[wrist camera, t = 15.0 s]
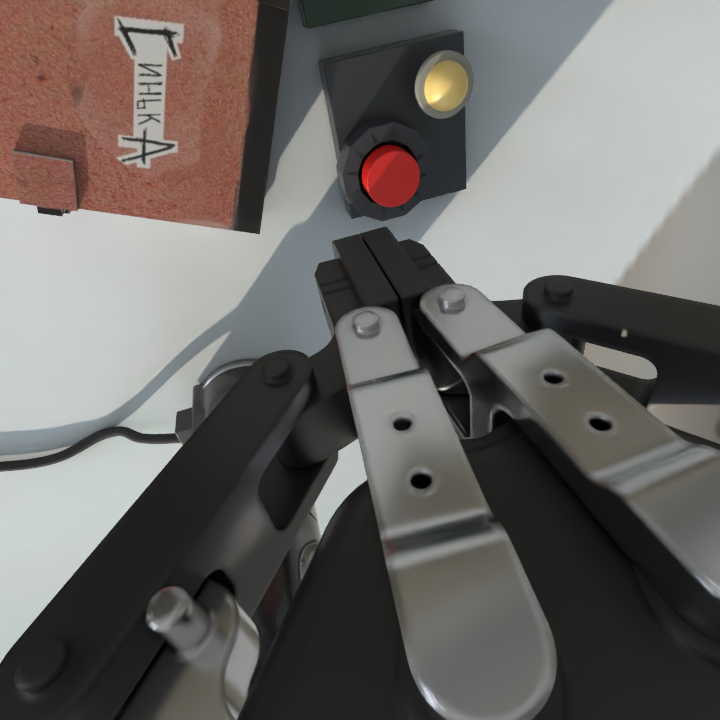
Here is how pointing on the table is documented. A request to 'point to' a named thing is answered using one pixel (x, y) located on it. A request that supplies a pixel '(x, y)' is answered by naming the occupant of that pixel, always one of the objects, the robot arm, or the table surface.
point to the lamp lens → (443, 84)
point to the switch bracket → (345, 9)
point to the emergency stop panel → (392, 120)
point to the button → (390, 175)
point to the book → (141, 106)
